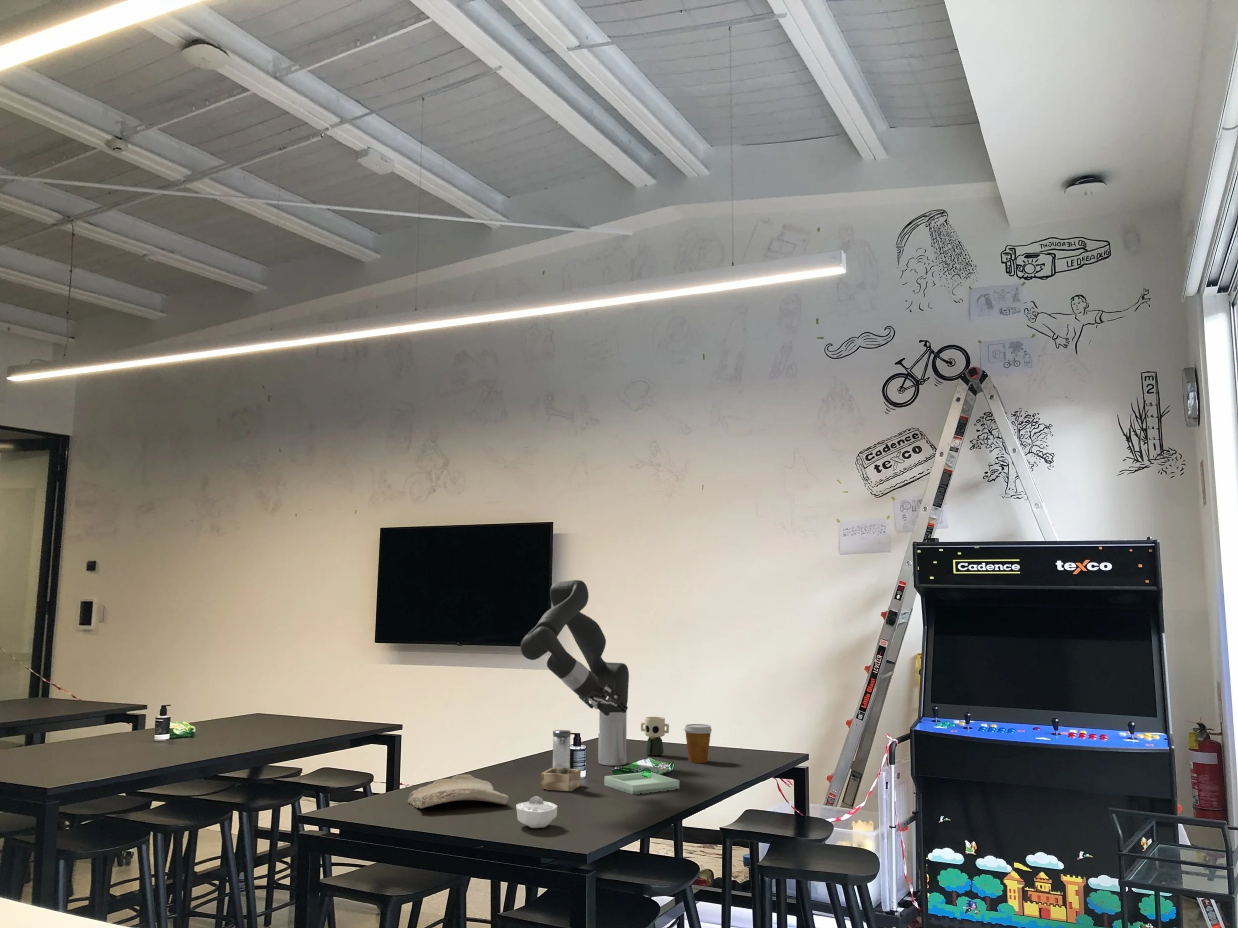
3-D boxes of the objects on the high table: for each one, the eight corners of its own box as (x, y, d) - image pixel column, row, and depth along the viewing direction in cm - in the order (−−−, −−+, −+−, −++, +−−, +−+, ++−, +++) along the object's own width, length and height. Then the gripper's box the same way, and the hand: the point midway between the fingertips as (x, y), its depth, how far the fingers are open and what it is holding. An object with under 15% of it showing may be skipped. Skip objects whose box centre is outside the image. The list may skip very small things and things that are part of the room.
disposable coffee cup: (712, 759, 336) (711, 723, 337) (712, 764, 326) (711, 727, 328) (684, 758, 337) (684, 723, 338) (683, 763, 327) (683, 726, 329)
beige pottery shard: (404, 804, 265) (420, 811, 247) (405, 775, 266) (421, 781, 249) (490, 800, 274) (511, 808, 256) (491, 773, 276) (512, 778, 258)
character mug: (636, 755, 343) (636, 717, 345) (644, 752, 349) (645, 715, 351) (664, 757, 338) (664, 719, 340) (672, 755, 344) (672, 717, 346)
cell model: (513, 832, 229) (514, 803, 230) (516, 821, 241) (517, 792, 242) (556, 832, 230) (557, 803, 231) (557, 821, 242) (557, 792, 243)
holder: (540, 789, 281) (541, 773, 282) (550, 783, 290) (551, 767, 291) (571, 790, 279) (571, 774, 280) (580, 785, 288) (580, 769, 289)
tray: (604, 784, 289) (604, 776, 289) (649, 780, 297) (649, 771, 297) (632, 794, 275) (632, 785, 275) (679, 789, 283) (679, 780, 283)
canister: (548, 786, 286) (549, 730, 288) (564, 784, 288) (565, 729, 290) (557, 789, 281) (558, 732, 283) (572, 787, 284) (573, 731, 286)
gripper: (598, 664, 277) (637, 698, 282) (570, 671, 288) (608, 703, 292) (586, 686, 273) (626, 720, 277) (559, 691, 283) (597, 724, 288)
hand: (617, 711), depth 285 cm, fingers open, 8 cm apart
